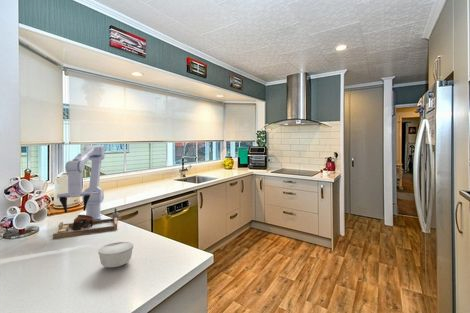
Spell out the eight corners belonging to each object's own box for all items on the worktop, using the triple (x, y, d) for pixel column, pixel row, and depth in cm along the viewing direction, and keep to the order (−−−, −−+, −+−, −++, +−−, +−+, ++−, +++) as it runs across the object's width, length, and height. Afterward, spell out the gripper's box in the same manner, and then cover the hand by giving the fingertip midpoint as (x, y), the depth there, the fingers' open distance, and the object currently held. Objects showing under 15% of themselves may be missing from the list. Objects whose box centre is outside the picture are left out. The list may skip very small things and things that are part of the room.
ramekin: (125, 252, 89) (124, 239, 89) (139, 260, 82) (139, 246, 82) (93, 262, 80) (93, 248, 80) (106, 273, 73) (105, 256, 73)
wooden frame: (61, 227, 120) (60, 213, 120) (118, 220, 133) (118, 207, 133) (53, 238, 104) (53, 221, 104) (119, 229, 117) (119, 214, 117)
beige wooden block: (61, 229, 117) (61, 220, 117) (69, 228, 118) (68, 220, 118) (57, 235, 107) (57, 226, 107) (65, 234, 108) (65, 225, 108)
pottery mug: (65, 230, 115) (72, 214, 119) (84, 234, 122) (90, 219, 126) (77, 229, 109) (84, 212, 113) (96, 233, 116) (102, 217, 120)
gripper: (55, 186, 107) (55, 214, 107) (91, 184, 114) (91, 211, 114) (58, 184, 113) (58, 211, 113) (92, 182, 120) (92, 208, 120)
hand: (75, 211), depth 114 cm, fingers open, 7 cm apart
